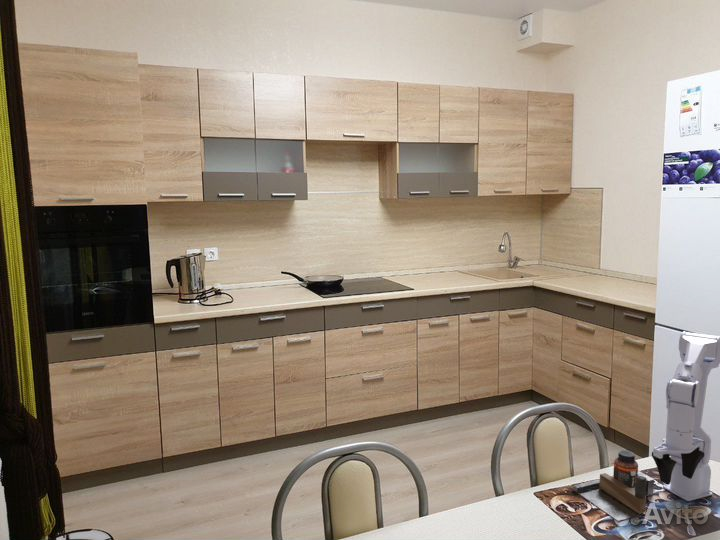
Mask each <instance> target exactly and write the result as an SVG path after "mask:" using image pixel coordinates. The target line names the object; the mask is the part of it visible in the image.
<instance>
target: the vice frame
mask: <svg viewBox="0 0 720 540" xmlns="http://www.w3.org/2000/svg"><path fill="white" fill-rule="evenodd" d="M610 476H611V477H613V475H610ZM638 476H643V477H645V478H646V479H647V480H646V495H645V497H646V496H647V497H651V496H654V490H655V489H654V488H655V487H654V486H655V485H654V483H655V479H654V478H652V477H651V476H649V475H648V474H645V473H643V472H642V471H640V470H638ZM599 483H600V478H599V479H595V480H594V479H593V480H590V481H587V482H582V483H578V484H574V485H572V486H573V491H574V492H575V493H576V494H579V496H581V497H582V498H583V499H584V500H587V502H590V503H591V504H592V505H594V506H595V507H596V508H598V509H599V510H600V511H602V512H604V513H605V514H606V515H608V516H609V517H611V518H612V519H614V520H615V521H617V522H621V521H626V520H629V519H633V518H636V517H639V516H643V515H646V512H644V513H641V514H639V513H637V512H636V511H634V510H633V509H631V508H630V507H628V506H627V505H625V504H623V503H622V502H620V501H619V500H617V499H616V498H614V497H613V496H611V495H610V494H608V493H606V492H605V491H603V490H602V489H600V488H599Z"/></svg>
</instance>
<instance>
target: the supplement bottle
mask: <svg viewBox="0 0 720 540" xmlns="http://www.w3.org/2000/svg"><path fill="white" fill-rule="evenodd" d="M635 457H636V454H635V453H634V452H632V451H631V450H626V449H622V450H619V451H618V455H617V457H616V458H615V459H614V461H613V475H612V476H613V478H615V479H616V480H618V481H620V482H621V483H623V484H625V485H626V486H628V487H630V488H631V489H633V490H635V485H636V476H638V471H639V464H638V462H637V461H636V458H635Z"/></svg>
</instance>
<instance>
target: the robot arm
mask: <svg viewBox="0 0 720 540" xmlns="http://www.w3.org/2000/svg"><path fill="white" fill-rule="evenodd" d="M678 351H679V357H680V360H681V362H680V363H678V365H677V367H676V369H675V371H674V375H673V377H672V380H668V381H667V382H666V383H667V384H666V387H665V400H666V404H665V405H666V406H665V407H666V409H667V416H666V432H665V438H662V443H661V444H659V445H658V446H655V447H653V451H652V452H651V457H652V459H653V460H654V462H655V465H656V468H657V471H658V475H659V480H660V482H662V483H663V485H662V488H663V489H665V490H667V491H669V492H670V493H672V494H674V495H676V496H677V497H679V498H681V499H683V500H684V501H687V502H691V501H694V500H697V499H701V498H706V497H709V496H712V495H713V492H712V491H710V488H711V478H712V476H711V475H712V470H711V467H710V465H709V463H710V459H711V458H710V457H711V451H712V438H711V436H710V434H708V433H707V432H706V431H705V430H704V428H702V422H703V421H702V420H703V414H704V407H705V400H706V392H707V385H708V379H709V375H710V373H711V371H712V369H717V368H719V366H720V335H711V334H702V333H696V332H688V331H685V330H684V331H683V332H681V333H680V335H679V339H678Z"/></svg>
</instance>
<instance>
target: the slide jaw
mask: <svg viewBox="0 0 720 540" xmlns="http://www.w3.org/2000/svg"><path fill="white" fill-rule="evenodd" d="M611 476H612V475H609V473H606V472H604V473H600V474H599V479H600V483H599V488H598V489H602V490H603V491H605V492H606V493H608V494H610V495H611V496H613V497H614V498H616V499H617V500H619V501H620V502H622V503H623V504H625V505H627V506H628V507H630V508H631V509H633V510H634V511H636V512H637V513H639V514H641V513H646V509H647V497H646V480H647V479H646V478H645V477H643V476H636V485H635V490H633V489H631V488H630V487H628V486H626V485H625V484H623V483H621V482H620V481H618V480H616V479H615V478H613V477H611Z"/></svg>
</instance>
